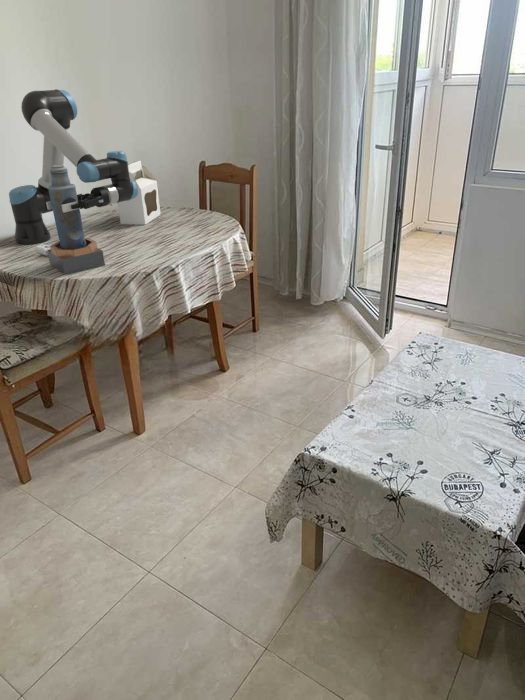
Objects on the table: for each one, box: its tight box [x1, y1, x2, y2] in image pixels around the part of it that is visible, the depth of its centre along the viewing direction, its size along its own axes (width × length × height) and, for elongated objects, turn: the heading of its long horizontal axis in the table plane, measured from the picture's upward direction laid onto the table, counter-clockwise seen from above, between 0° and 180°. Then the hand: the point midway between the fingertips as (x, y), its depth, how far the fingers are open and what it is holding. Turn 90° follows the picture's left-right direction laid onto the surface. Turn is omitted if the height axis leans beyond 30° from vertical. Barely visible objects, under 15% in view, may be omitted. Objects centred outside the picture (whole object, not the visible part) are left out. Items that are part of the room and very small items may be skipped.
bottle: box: [48, 164, 86, 249], centre depth 198 cm, size 10×10×30 cm
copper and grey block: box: [46, 237, 106, 276], centre depth 206 cm, size 16×16×8 cm
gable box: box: [117, 159, 161, 226], centre depth 266 cm, size 22×13×28 cm, turn 169°
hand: (55, 207), depth 194 cm, fingers closed on bottle, 9 cm apart
